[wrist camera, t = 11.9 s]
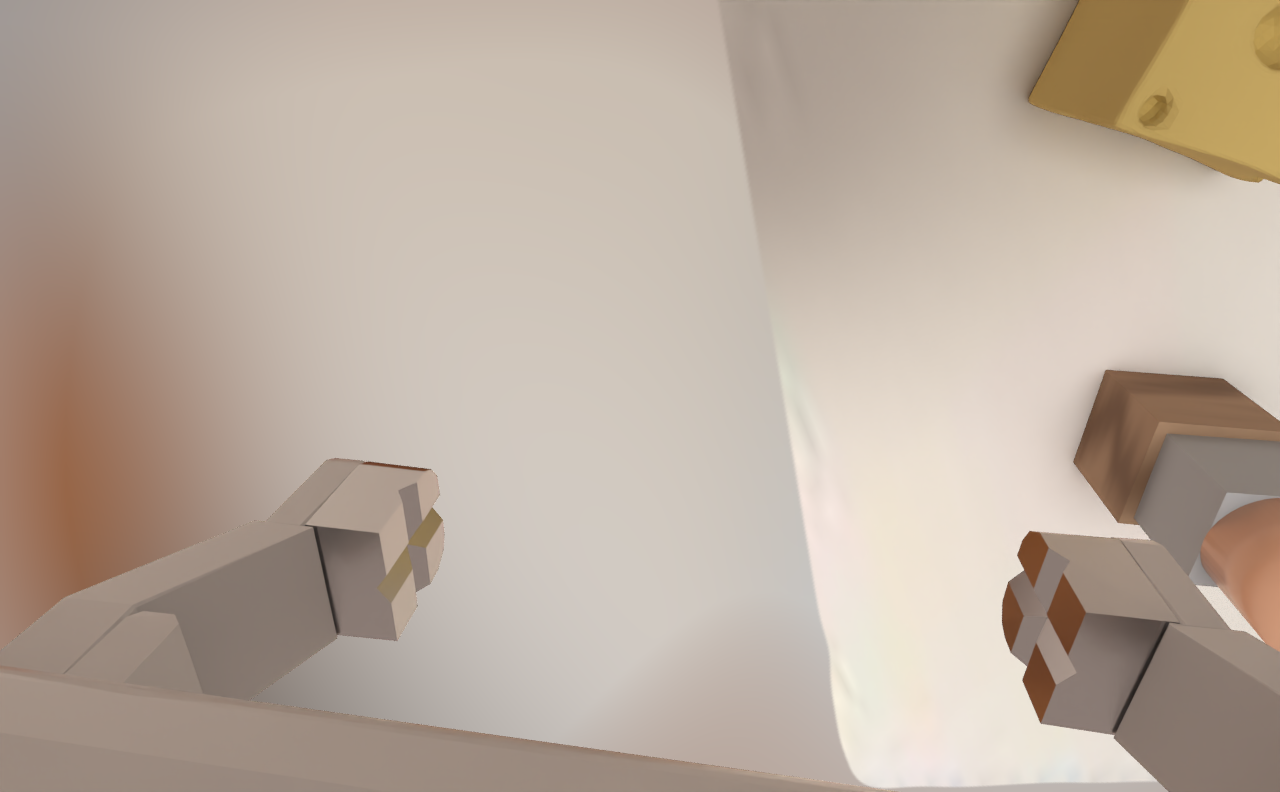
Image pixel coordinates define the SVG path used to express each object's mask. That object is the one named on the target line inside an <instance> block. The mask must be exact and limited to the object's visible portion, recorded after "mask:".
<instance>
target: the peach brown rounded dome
mask: <svg viewBox="0 0 1280 792" xmlns="http://www.w3.org/2000/svg"><path fill="white" fill-rule="evenodd" d="M1200 558H1201V563H1202V566H1203V568H1204V570H1205V571H1206V573H1207V574H1208V575H1209V576H1210V578H1211V579H1212V580H1213V581H1214V582H1215V584H1216V585H1217V586H1218V587H1219V588H1220V589H1221V591H1222V592H1223V593H1224V594H1225V595H1226V597H1227V598H1228V599H1229V600H1230V601H1231V603H1232V604H1233V605H1234V606H1235V607H1236V609H1237V610H1238V611H1239V612H1240V613H1241V615H1242V616H1243V617H1244V618H1245V619H1246V620H1247V622H1248V623H1249V624H1250V625H1251V626H1252V628H1253V629H1254V630H1255V631H1256V632H1257V634H1258V635H1259V636H1260V637H1261V638H1262V640H1263V641H1264V642H1265V643H1266V644H1267V645H1269V646H1271V647H1272V648H1274V649H1276V650H1277V651H1279V652H1280V498H1271V499H1264V500H1260V501H1256V502H1252V503H1249V504H1247V505H1244V506H1242V507H1239V508H1237V509H1236V510H1234V511H1232V512H1230V513H1229V514H1227V515H1226V516H1224V517H1223V518H1222V519H1220V520H1219V521H1218V522H1217V523H1216V524H1215V525H1214V526H1213V527H1212V528H1211V529H1210V531H1209V532H1208V533H1207V535H1206V537H1205V538H1204V540H1203V543H1202V546H1201V550H1200Z"/></svg>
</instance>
